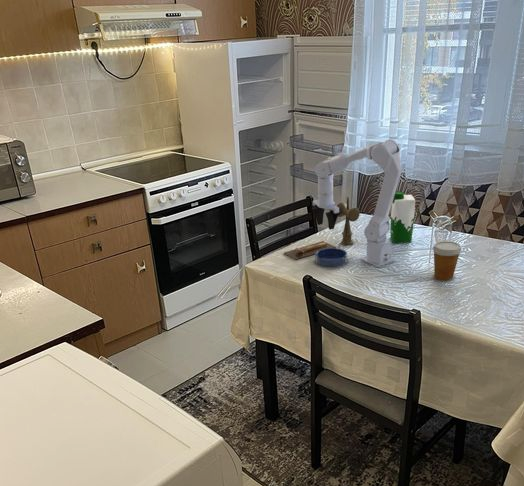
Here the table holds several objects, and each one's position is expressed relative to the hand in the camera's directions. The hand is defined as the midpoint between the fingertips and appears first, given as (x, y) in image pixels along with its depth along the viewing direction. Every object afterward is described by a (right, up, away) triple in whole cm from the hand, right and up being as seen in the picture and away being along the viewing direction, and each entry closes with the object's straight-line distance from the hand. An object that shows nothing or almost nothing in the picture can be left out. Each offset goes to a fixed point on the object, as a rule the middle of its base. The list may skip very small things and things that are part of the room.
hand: (325, 226), depth 217 cm
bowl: (+1, -15, -5) cm, 16 cm away
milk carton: (+33, -3, +11) cm, 35 cm away
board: (-6, -9, +5) cm, 12 cm away
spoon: (-6, -10, +5) cm, 13 cm away
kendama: (+10, -5, +10) cm, 16 cm away
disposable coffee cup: (+40, -24, -23) cm, 52 cm away
